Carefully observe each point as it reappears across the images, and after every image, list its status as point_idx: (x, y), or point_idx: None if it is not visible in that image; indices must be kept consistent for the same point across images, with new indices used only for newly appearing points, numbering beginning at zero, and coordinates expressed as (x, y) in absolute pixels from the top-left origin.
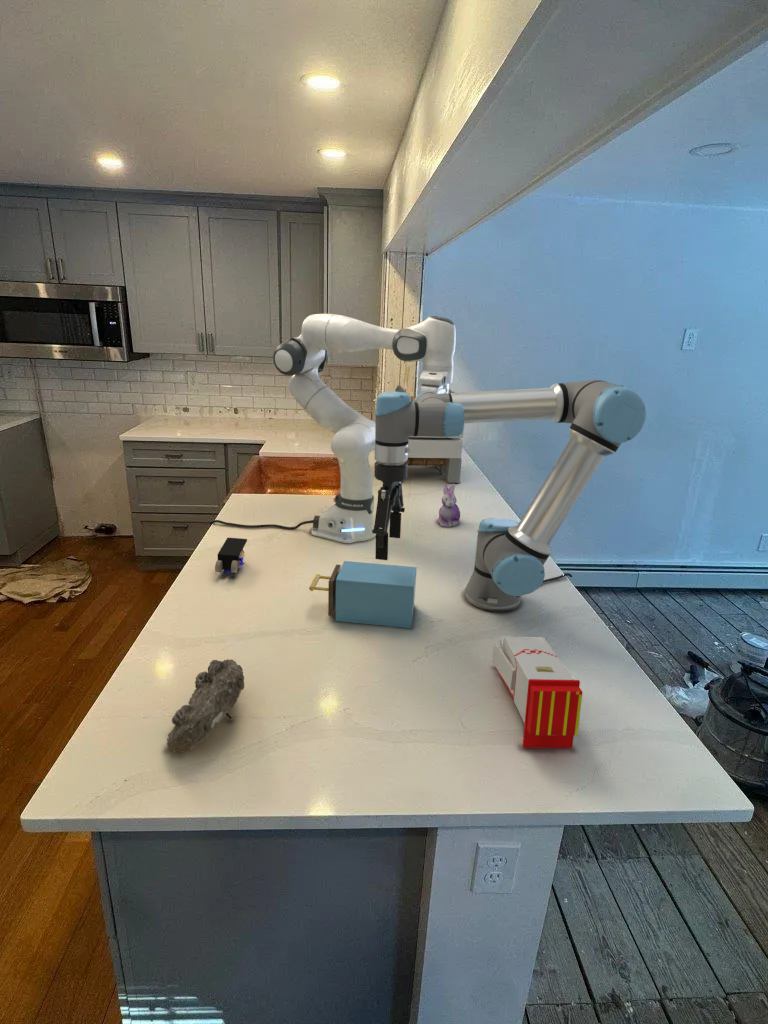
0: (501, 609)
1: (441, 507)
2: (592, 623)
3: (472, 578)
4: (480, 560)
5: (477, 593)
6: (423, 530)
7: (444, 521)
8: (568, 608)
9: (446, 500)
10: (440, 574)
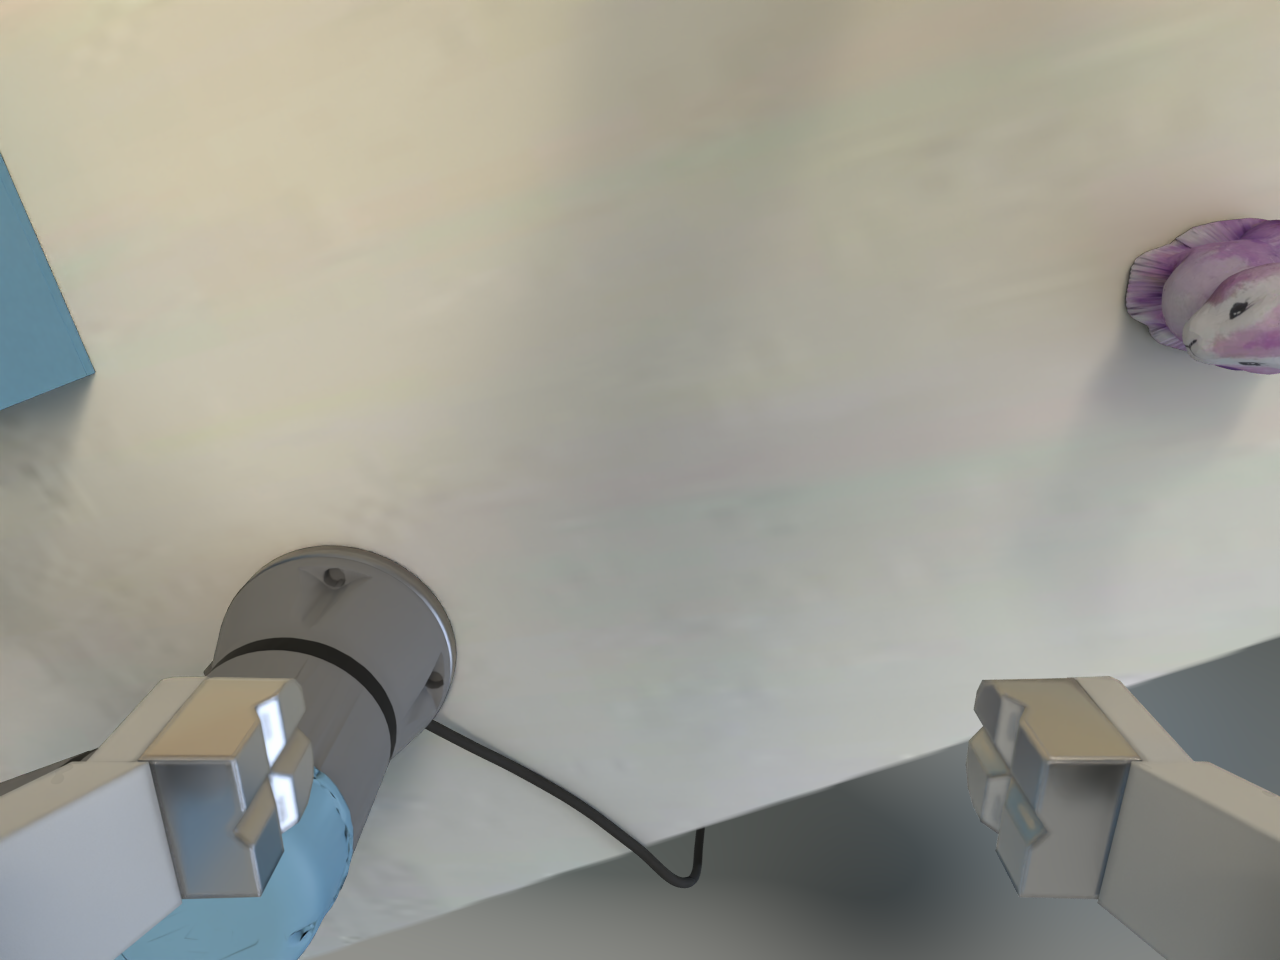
0: None
1: (1242, 257)
2: (343, 938)
3: (255, 618)
4: None
5: (221, 629)
6: (1031, 168)
7: (1156, 281)
8: (411, 877)
9: (1229, 312)
10: (463, 406)
